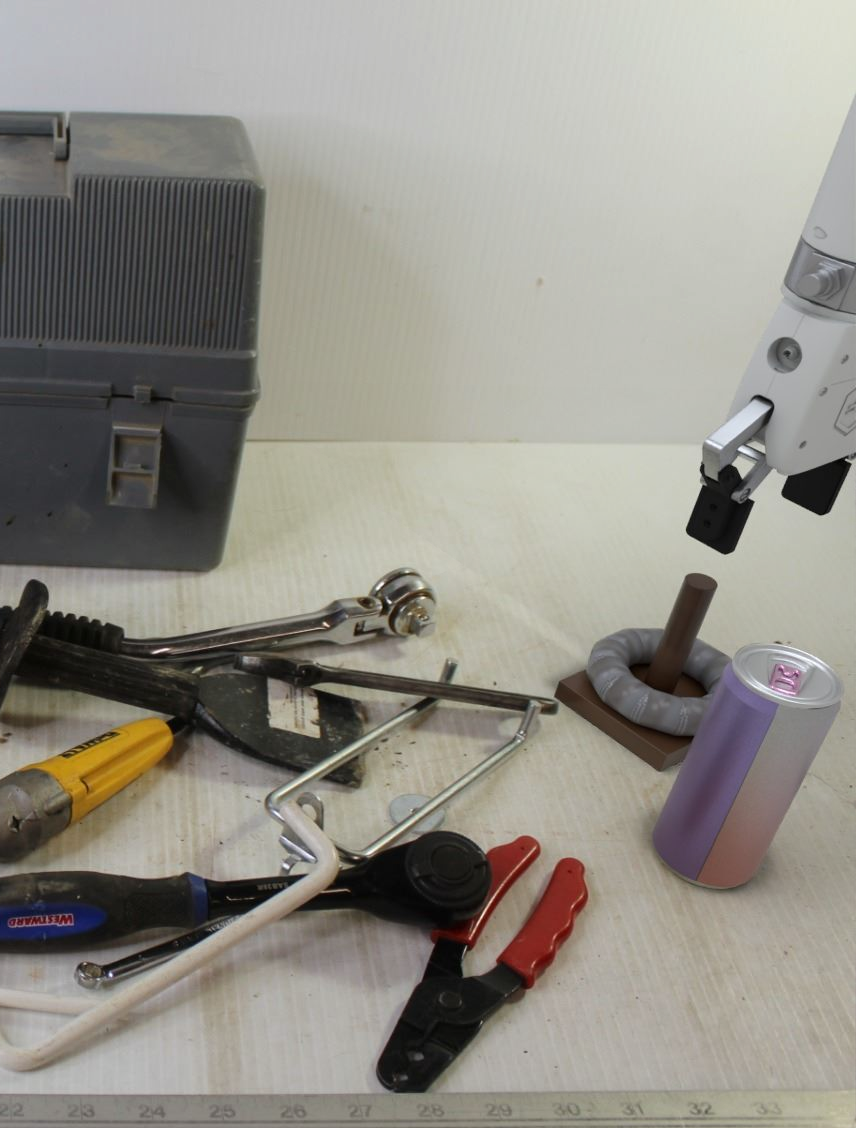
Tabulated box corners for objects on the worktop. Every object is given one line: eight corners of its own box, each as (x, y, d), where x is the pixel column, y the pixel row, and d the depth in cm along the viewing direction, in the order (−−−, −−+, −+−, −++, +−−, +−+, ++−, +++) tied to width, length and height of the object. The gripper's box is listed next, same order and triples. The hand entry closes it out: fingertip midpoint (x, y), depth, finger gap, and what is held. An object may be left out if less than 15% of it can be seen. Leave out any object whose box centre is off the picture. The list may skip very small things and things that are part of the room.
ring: (646, 633, 100) (657, 605, 98) (775, 711, 93) (789, 683, 91) (552, 677, 96) (561, 648, 94) (679, 762, 88) (692, 733, 87)
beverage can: (639, 867, 83) (722, 681, 74) (658, 811, 87) (738, 628, 78) (744, 909, 80) (843, 721, 71) (759, 848, 84) (853, 663, 75)
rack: (637, 659, 100) (687, 531, 93) (745, 729, 93) (807, 597, 87) (553, 696, 96) (598, 565, 90) (659, 771, 90) (717, 636, 83)
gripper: (829, 330, 72) (721, 589, 82) (1012, 272, 78) (891, 517, 88) (707, 282, 77) (619, 531, 87) (887, 231, 84) (787, 467, 94)
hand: (756, 524), depth 88 cm, fingers open, 9 cm apart
